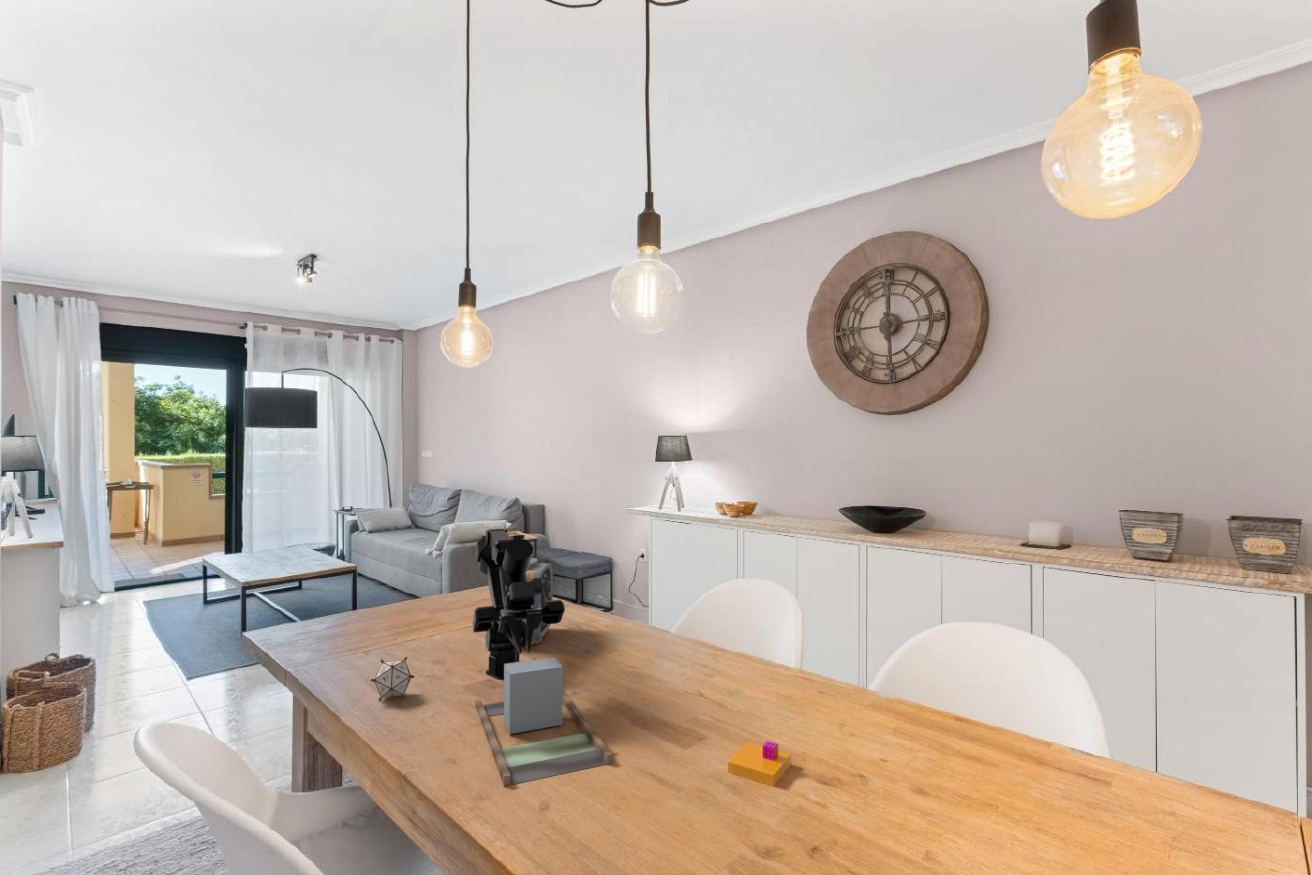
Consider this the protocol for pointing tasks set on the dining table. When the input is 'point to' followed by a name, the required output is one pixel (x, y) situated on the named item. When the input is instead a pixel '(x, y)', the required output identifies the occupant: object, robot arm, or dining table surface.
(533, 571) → the alarm clock
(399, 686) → the game die
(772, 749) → the flat orange slab
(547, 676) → the slate block
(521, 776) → the channel
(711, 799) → the dining table surface
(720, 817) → the dining table surface
